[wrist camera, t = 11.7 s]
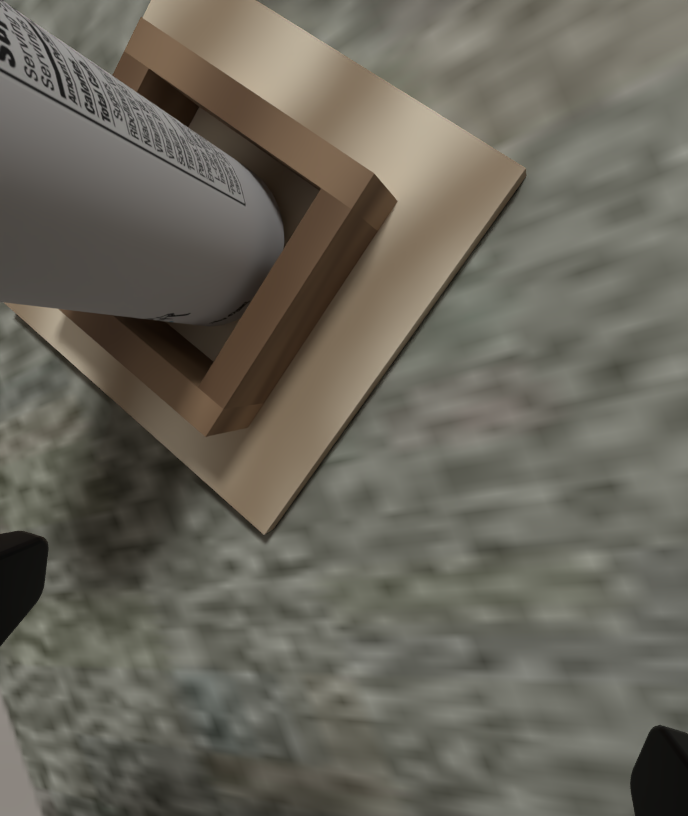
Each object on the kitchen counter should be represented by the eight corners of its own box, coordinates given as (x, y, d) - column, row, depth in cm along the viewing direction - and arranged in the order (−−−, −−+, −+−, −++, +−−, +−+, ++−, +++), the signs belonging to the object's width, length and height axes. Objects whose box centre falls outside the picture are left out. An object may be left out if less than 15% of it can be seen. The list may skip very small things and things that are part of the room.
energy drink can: (133, 273, 23) (-496, 129, 9) (206, 139, 22) (-415, -286, 8) (241, 358, 22) (-298, 347, 8) (325, 222, 20) (-150, -102, 6)
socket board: (526, 176, 19) (523, 131, 15) (273, 529, 23) (224, 559, 19) (187, -36, 22) (121, -113, 19) (18, 304, 26) (-63, 294, 23)
